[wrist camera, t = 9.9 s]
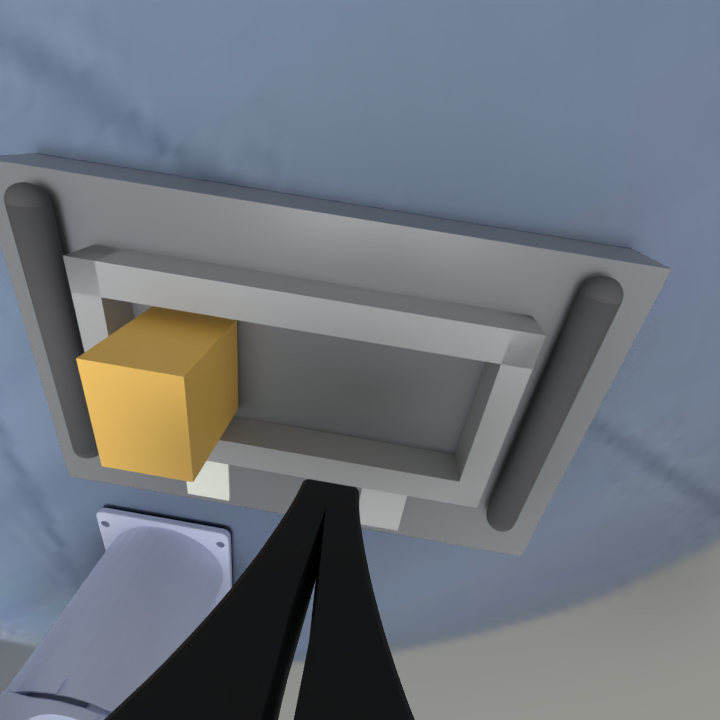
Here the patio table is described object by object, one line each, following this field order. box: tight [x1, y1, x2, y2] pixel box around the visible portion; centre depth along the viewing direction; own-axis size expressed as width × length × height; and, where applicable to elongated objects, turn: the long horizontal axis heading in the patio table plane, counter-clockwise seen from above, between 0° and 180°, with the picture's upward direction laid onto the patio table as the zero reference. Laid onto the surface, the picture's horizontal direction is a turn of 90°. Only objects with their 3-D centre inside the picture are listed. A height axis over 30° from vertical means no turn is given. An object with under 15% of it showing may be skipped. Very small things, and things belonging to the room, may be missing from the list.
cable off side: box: [486, 276, 624, 532], centre depth 15 cm, size 11×1×1 cm, turn 172°
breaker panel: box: [0, 154, 672, 556], centre depth 17 cm, size 14×22×4 cm, turn 82°
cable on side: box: [4, 182, 99, 459], centre depth 15 cm, size 11×1×1 cm, turn 172°
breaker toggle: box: [76, 306, 238, 482], centre depth 14 cm, size 4×3×4 cm
